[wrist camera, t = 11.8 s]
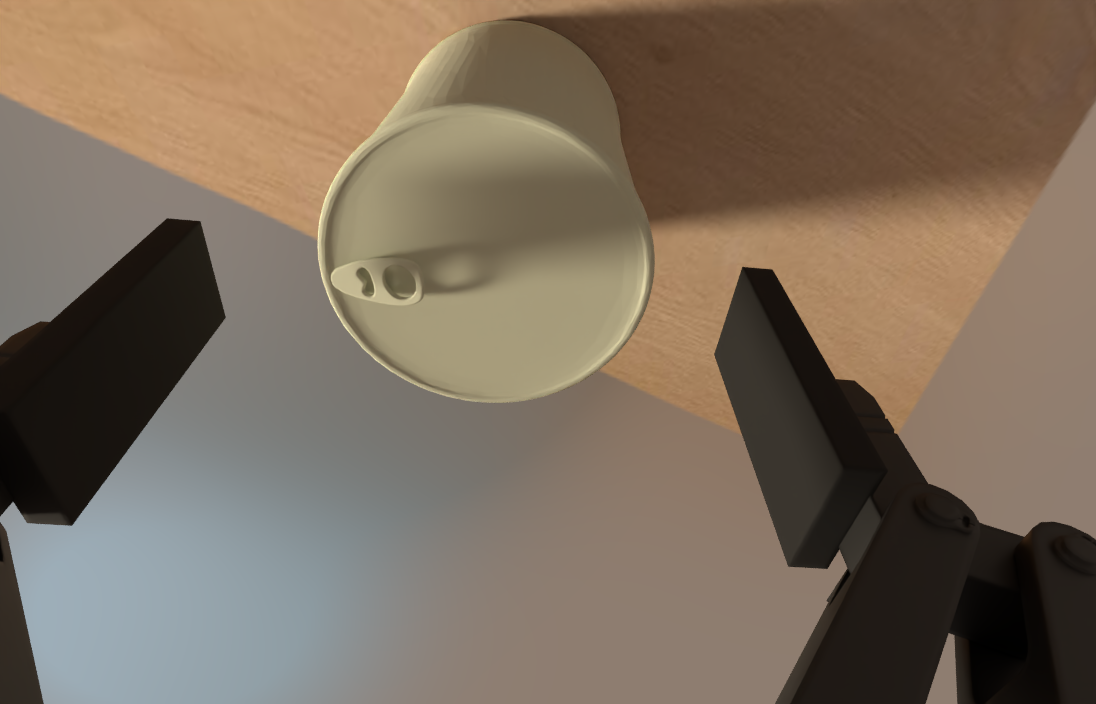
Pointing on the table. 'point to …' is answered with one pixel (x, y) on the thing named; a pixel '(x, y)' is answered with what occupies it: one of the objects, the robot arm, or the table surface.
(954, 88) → the table surface
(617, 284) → the can
